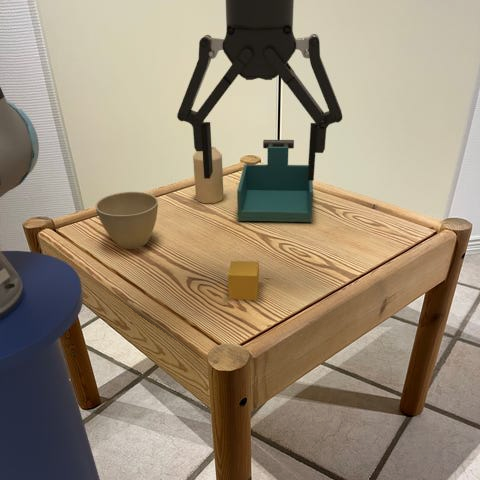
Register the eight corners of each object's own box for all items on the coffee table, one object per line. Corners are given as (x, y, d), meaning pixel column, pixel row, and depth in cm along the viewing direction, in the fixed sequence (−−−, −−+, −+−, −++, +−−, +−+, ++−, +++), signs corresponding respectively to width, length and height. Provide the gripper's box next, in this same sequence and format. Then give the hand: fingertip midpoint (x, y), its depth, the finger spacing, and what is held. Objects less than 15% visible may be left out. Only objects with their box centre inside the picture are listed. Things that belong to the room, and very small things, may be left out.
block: (228, 299, 72) (227, 274, 70) (231, 284, 76) (230, 260, 73) (257, 300, 72) (256, 275, 70) (258, 285, 75) (258, 261, 73)
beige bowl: (118, 262, 82) (111, 221, 78) (93, 240, 88) (85, 200, 84) (173, 244, 86) (168, 204, 82) (145, 224, 93) (140, 186, 89)
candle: (223, 192, 105) (221, 142, 99) (224, 203, 100) (222, 151, 94) (196, 193, 105) (192, 144, 99) (196, 204, 100) (192, 153, 94)
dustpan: (246, 184, 107) (245, 138, 102) (309, 185, 106) (312, 138, 100) (237, 220, 93) (236, 169, 87) (311, 221, 92) (314, 169, 86)
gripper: (372, -19, 58) (352, 167, 70) (155, -15, 60) (172, 164, 72) (380, -15, 52) (356, 188, 64) (138, -11, 54) (160, 184, 66)
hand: (259, 176), depth 68 cm, fingers open, 13 cm apart
